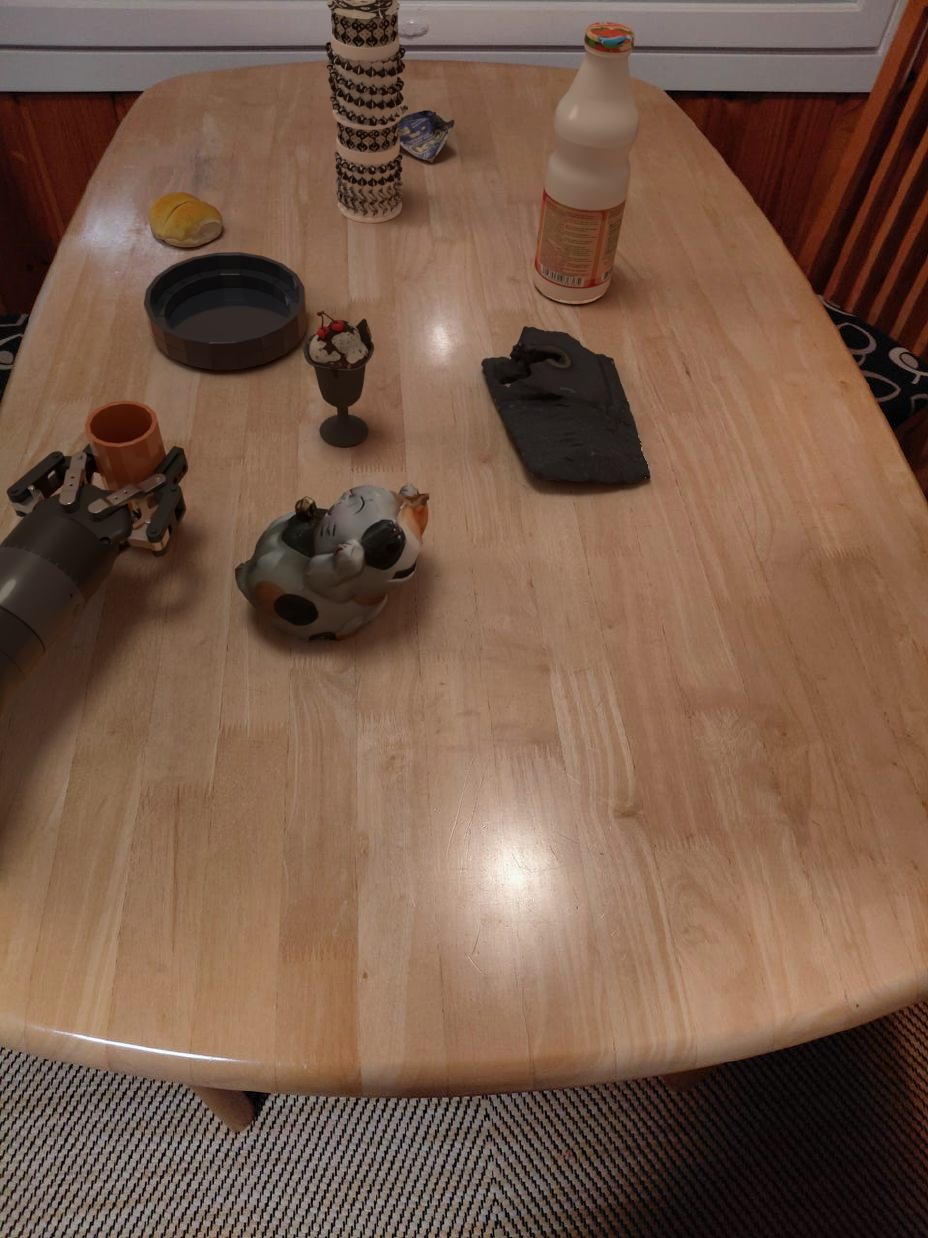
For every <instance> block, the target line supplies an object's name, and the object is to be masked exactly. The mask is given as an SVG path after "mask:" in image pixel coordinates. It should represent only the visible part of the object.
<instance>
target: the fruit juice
mask: <svg viewBox="0 0 928 1238" xmlns="http://www.w3.org/2000/svg"><path fill="white" fill-rule="evenodd" d="M583 41H584V44H583V46H584V47H583V48H584V50H585V53H584V56H583V59H582V61H581V63H580V66H579V68H578V70H577V73H576V75H575V77H574V78H573V81H572V83H571V86H570V87H569V89H568V90H567V91H566V93H565V94H563V96H562V98H561V99H560V100H559V102H558V104H557V105H556V108H555V110H554V111H555V112H554V115H553V119H552V134H553V142H554V147H553V150H552V151H551V153H550V155H549V157H548V160H547V163H546V167H545V168H546V169H545V174H544V181H543V191H542V199H541V208H540V215H539V224H538V230H537V240H536V247H535V258H534V262H533V263H534V264H533V274H532V275H533V283H534V286H535V285H536V286H535V288H536V287H537V288H538V289H539V290H540V291H541V292H542V293H544V294H545V295H547V296H550V297H553V298H555V299H558V300H560V299H561V300H566V301H584V300H589V299H593V298H595V297H597V296H599V295H602V294H603V293H604V292H605V291H606V290H607V291H608V289H609V286H610V283H611V280H612V274H613V269H614V263H615V259H616V254H617V248H618V244H619V238H620V233H621V228H622V223H623V217H624V212H625V207H626V203H627V199H628V195H629V194H628V193H629V188H630V180H631V162H630V154H631V152H632V149H633V147H634V145H635V143H636V140H637V138H638V134H639V129H640V114H639V110H638V107H637V105H636V102H635V99H634V98H635V97H634V95H633V89H632V81H631V73H630V72H631V71H630V66H629V56H631V54H632V52H633V48H634V45H635V31H633V30H632V28H630V27H629V26H626V25H624V24H621V23H616V22H612V21H611V22H609V21H601V22H595V23H592V24H590V25H588V26H587V28H586V30H585V33H584V39H583ZM537 288H536V289H537ZM607 288H608V289H607ZM538 289H537V290H538ZM607 291H606V292H607Z"/></svg>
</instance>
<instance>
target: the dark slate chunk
mask: <svg viewBox="0 0 928 1238" xmlns="http://www.w3.org/2000/svg"><path fill="white" fill-rule="evenodd" d="M509 357H510V358H509ZM509 357H507V356H503V355H502V356H498V357H496V356H495V357H485V358H483V359H482V361H481V363H480V366H481V367H482V373H483V375H485V380H486V382H487V384H488V387H489V389H490V393H491V395H492V396H491V397H492V398H493V399H494V401H495V405H496V407H498V412H499V413H500V415H501V416H502V418H503V420H504V424H505V427H506V429H507V431H508V432H509V433H510V434H511V436H512V441H513V442H514V443H515V445H516V447H517V449H518V452H519V453H520V454H521V460H522V462H523V464H524V466H525V468H526V469H527V471H528V472H529V473H530V475H531V476H532V477H533V478H535V480H539V481H541V480H551V481H561V482H575V483H576V482H577V483H578V482H596V483H599V484H608V485H610V484H633V483H635V482H636V483H637V482H641V481H642V480H644V479H651V471H650V469H649V468H648V466H649V463H648V464H647V462H648V460H647V459H646V460H647V461H646V460H645V458H646V457H645V458H644V456H645V455H644V452H643V453H642V451H641V447H643V446H642V443H641V442H642V440H641V438H640V436H639V437H638V435H639V432H638V428H637V424H636V420H635V418H634V417H635V416H634V414H633V413H632V411H631V406H630V402H629V401H627V400H628V398H627V396H626V392H625V389H624V386H623V384H621V383H622V381H621V379H620V375H619V371H618V369H617V368H616V364H615V359H614V357H610V356H607V355H606V354H603V353H596V352H594V351H592V350H590V349H589V348H587V347H585V346H583V345H582V344H581V342H580V340H578V339H577V338H574V336H572V335H570V334H569V333H568V332H564V331H557V330H552V331H551V330H544V329H540V328H537V327H535V326H530V327H529V326H527V325H525V326H523V327H522V329H521V333H520V335H519V339H518V340H517V342H516V344H515V345H513V346H512V348H511V351H510V354H509ZM508 381H509V382H508ZM514 381H516V382H514ZM620 381H621V382H620ZM506 383H510V384H509V386H508V385H505V384H506ZM640 440H641V441H640ZM640 443H641V444H640ZM643 455H644V456H643ZM645 477H646V478H645Z"/></svg>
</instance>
